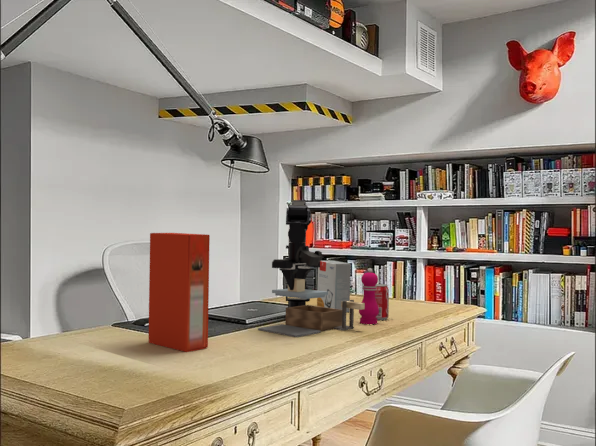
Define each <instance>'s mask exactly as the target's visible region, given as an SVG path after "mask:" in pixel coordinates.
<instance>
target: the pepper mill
mask: <svg viewBox="0 0 596 446" xmlns="http://www.w3.org/2000/svg"><path fill="white" fill-rule="evenodd" d="M360 280H361V284H363V285H362V290H363V297H362V301H361V302H360V303H365V309H363V310H358V314H359V315H360V316H361V317H360V318H359V324H361V323H362V325H367V324H374V325H377V324H378V320H377V318H376V316H377V315H378V314H379V308H378V305H377V302H376V299H375V290H376V284H379V283H378V282H379V277H378V275H377V274H376V273H374V272H373V269H372V268H371V267H369V268H367V272H365V273H363V274H362V276H361V279H360Z"/></svg>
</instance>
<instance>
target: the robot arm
mask: <svg viewBox="0 0 596 446" xmlns="http://www.w3.org/2000/svg"><path fill="white" fill-rule="evenodd" d="M291 202H292V203H291V204H289V205H288V207H287V208H286V214H285V215H286V216H285V225H286V226H287V225H289V227H288V231H287V237H288V245H287V244H286V245H285V249H288V250H287V251H288V253H287V255H288V257H285V259H281V258H280V259H277V258H276V259H273V260H272V261H271V268H273V269H279V271H281V273H282V275H283V277H284V280H285V281H286V283H287V284H286V285H285V289H288V286H289V288H290V290H293V289H294V280H295V278H296V279H305V289H307V290H311V289H310V288H309V285H307V279H306V278H307V276H308V275H309V273H310V272H311V271H313V270H314V268H318V267H320V261H323V252H322V251H321V250H315V251H310V248H309V247H310V246H309V245H306V244H307V231H308V229H309V226H310V224H311V223H312V211H311V209H310V208H309V207H308V205H307V203H306V201H305V200H304V199H303V200H300V199H299V200H297V199H295V200H292V201H291ZM310 301H311V299H303V298H294V297H285V302H287V308H289V307H296V306H304V305H307V304H306V303H309V302H310ZM284 318H286V314H285V315H284Z"/></svg>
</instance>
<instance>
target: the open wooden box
mask: <svg viewBox="0 0 596 446" xmlns="http://www.w3.org/2000/svg"><path fill="white" fill-rule="evenodd" d="M350 301H351V302H355V300H354V299H350ZM346 306H347V301H342V310H340V309H333V308H326V307H319V306H317V305H311V304H306V305H304V306H296V307H289V308H288V307H285V315H286V317H285V323H284V325H290V326H296V327H301V328H307V329H313V330H318V331H321V332H325V331H330V330H338V331H349V330H354V329H355V326H354V316H355V315H354V314H355V313H354V312H355V309H350V308H349V323H348V325H347V312H346ZM353 328H354V329H353ZM348 329H349V330H348Z"/></svg>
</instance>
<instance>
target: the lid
mask: <svg viewBox="0 0 596 446" xmlns="http://www.w3.org/2000/svg"><path fill="white" fill-rule="evenodd" d="M271 294H274V295H275V296H277V297H279V296H280V297H285V298H286V297H288V298H303V299H310V300H311V299H317V298H320V297H325V295H328V292H326V291H317V290H313V289H310V290H307V289H305V279H296V278H295V280H294V289H293V290H290V288H289V286H288V289H286V288H280V289H272V290H271Z"/></svg>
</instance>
